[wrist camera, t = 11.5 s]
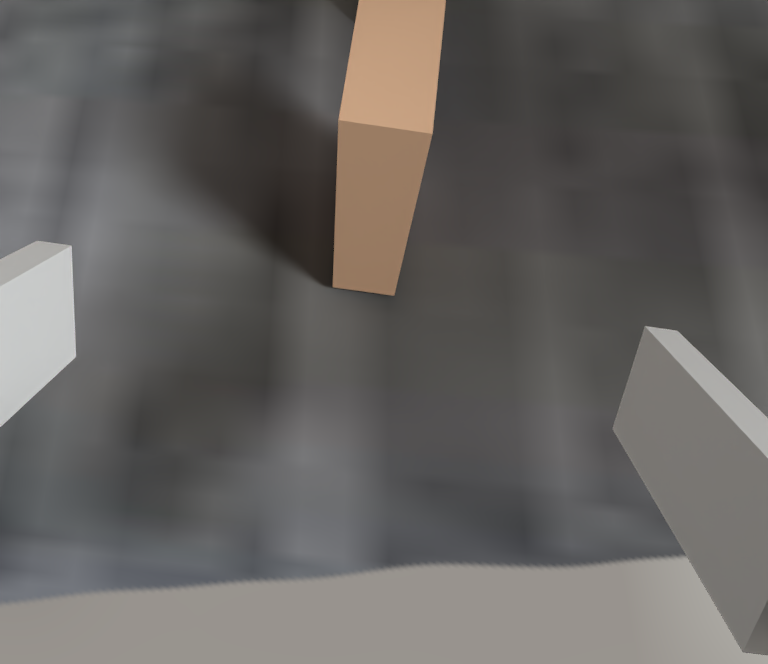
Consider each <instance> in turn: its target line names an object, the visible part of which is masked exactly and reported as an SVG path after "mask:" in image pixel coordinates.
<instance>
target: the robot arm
mask: <svg viewBox="0 0 768 664" xmlns="http://www.w3.org/2000/svg"><path fill="white" fill-rule="evenodd" d="M75 357H76V343H75V319H74V294H73V269H72V246H70V245H63V244H56V243H49V242H42V241H36V242H34V243H32V244H30V245H28V246H26V247H24V248H22V249H20V250H18V251H16V252H14V253H12V254H10V255H8V256H6V257H4V258H2V259H0V427H1V426H2V425H3V424H4V423H5V422H6V421H7V420H8V419H9V418H11V417H12V416H13V415H14V414H15V413H16V412H17V411H18V410H19V409H20V408H21V407H22V406H24V405H25V404H26V403H27V402H28V401H29V400H30V399H31V398H32V397H33V396H34V395H35V394H36V393H38V392H39V391H40V390H41V389H42V388H43V387H44V386H45V385H46V384H47V383H48V382H49V381H51V380H52V379H53V378H54V377H55V376H56V375H57V374H58V373H59V372H60V371H61V370H62V369H63V368H65V367H66V366H67V365H68V364H69V363H70V362H71V361H72V360H73V359H74V358H75ZM613 431H614V432H615V434H616V436H617V437H618V439H619V441H620V443H621V444H622V446H623V448H624V449H625V451H626V453H627V455H628V456H629V458H630V460H631V461H632V463H633V465H634V467H635V468H636V470H637V472H638V473H639V475H640V477H641V479H642V480H643V482H644V484H645V485H646V487H647V489H648V491H649V492H650V494H651V496H652V497H653V499H654V501H655V503H656V504H657V506H658V508H659V509H660V511H661V513H662V515H663V516H664V518H665V520H666V521H667V523H668V525H669V527H670V528H671V530H672V532H673V533H674V535H675V537H676V539H677V540H678V542H679V544H680V545H681V547H682V549H683V551H684V552H685V554H686V556H687V557H688V559H689V561H690V562H691V564H692V566H693V568H694V569H695V571H696V573H697V574H698V576H699V578H700V580H701V581H702V583H703V585H704V587H705V588H706V590H707V592H708V593H709V595H710V596H711V599H712V600H713V602H714V604H715V605H716V607H717V609H718V610H719V612H720V614H721V616H722V617H723V619H724V621H725V622H726V624H727V626H728V628H729V629H730V631H731V633H732V635H733V636H734V638H735V640H736V641H737V643H738V645H739V646H740V648H741V650H742V652H745V653H753V654H761V655H768V418H767V417H766V416H765V415H764V414H763V413H762V412H761V411H760V410H759V409H758V408H757V407H756V406H755V405H754V404H753V403H751V402H750V401H749V400H748V399H747V398H746V397H745V396H744V395H743V394H742V393H741V392H740V391H739V390H738V389H737V388H736V387H735V386H734V385H733V384H732V383H731V382H730V381H729V380H728V379H727V378H726V377H725V376H724V375H723V374H722V373H720V372H719V371H718V370H717V369H716V368H715V367H714V366H713V365H712V364H711V363H710V362H709V361H708V360H707V359H706V358H705V357H704V356H703V355H702V354H701V353H700V352H699V351H698V350H697V349H696V348H695V347H694V346H693V345H692V344H691V343H689V342H688V341H687V340H686V339H685V338H684V337H683V336H682V335H681V334H680V333H679V332H678V331H676V330H668V329H661V328H654V327H647V326H645V328H644V331H643V334H642V337H641V340H640V344H639V347H638V350H637V353H636V356H635V359H634V363H633V366H632V369H631V372H630V375H629V378H628V381H627V385H626V388H625V391H624V394H623V397H622V400H621V404H620V407H619V410H618V413H617V416H616V419H615V423H614V426H613Z"/></svg>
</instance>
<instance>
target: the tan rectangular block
mask: <svg viewBox="0 0 768 664" xmlns="http://www.w3.org/2000/svg"><path fill="white" fill-rule="evenodd" d="M445 4H446V0H359V3H358V9H357V15H356V20H355V26H354V32H353V38H352V44H351V50H350V56H349V61H348V67H347V73H346V79H345V85H344V91H343V97H342V102H341V108H340V114H339V120H338V149H337V178H336V206H335V235H334V264H333V287H334V288H342V289H349V290H356V291H364V292H371V293H378V294H385V295H393V296H394V294H395V290H396V286H397V282H398V277H399V273H400V269H401V265H402V261H403V256H404V252H405V248H406V244H407V239H408V235H409V231H410V227H411V223H412V218H413V214H414V210H415V206H416V201H417V197H418V193H419V189H420V184H421V180H422V176H423V172H424V168H425V163H426V159H427V155H428V151H429V146H430V142H431V138H432V134H433V124H434V114H435V104H436V94H437V84H438V74H439V64H440V54H441V44H442V34H443V24H444V14H445Z"/></svg>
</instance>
